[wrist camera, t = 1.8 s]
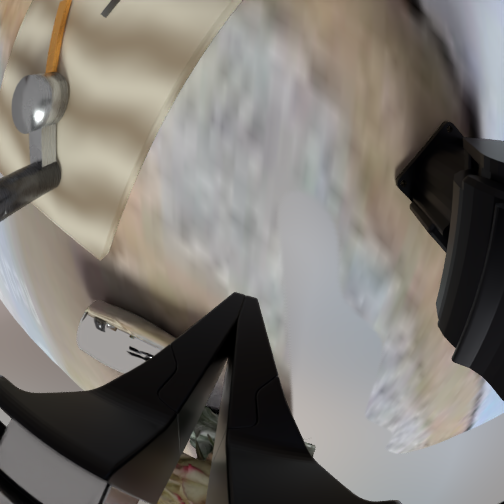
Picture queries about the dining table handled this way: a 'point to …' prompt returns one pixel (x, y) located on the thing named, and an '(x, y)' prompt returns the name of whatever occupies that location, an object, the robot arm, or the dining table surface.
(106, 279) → the dining table surface
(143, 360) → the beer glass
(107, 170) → the dial board
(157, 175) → the dining table surface
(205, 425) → the rose bouquet
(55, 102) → the cam lever
